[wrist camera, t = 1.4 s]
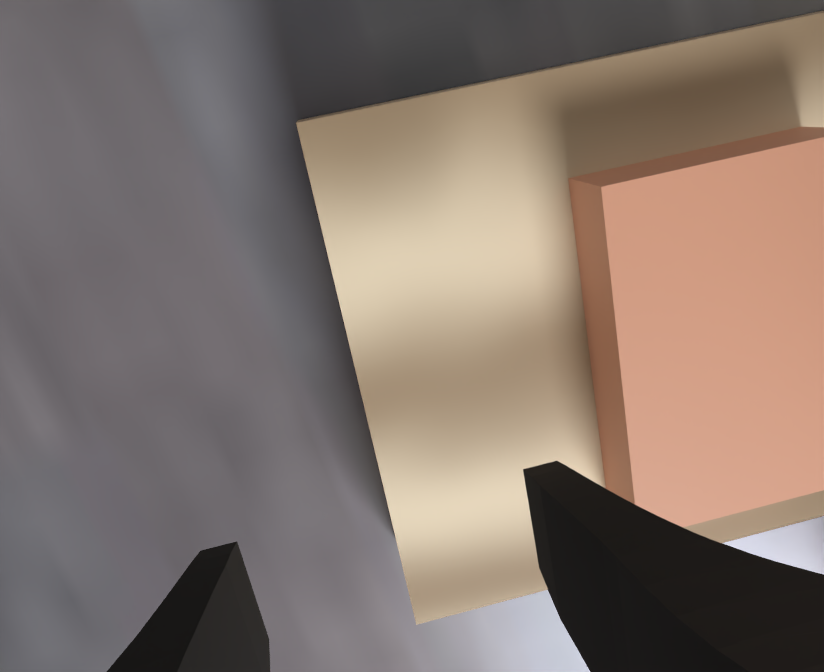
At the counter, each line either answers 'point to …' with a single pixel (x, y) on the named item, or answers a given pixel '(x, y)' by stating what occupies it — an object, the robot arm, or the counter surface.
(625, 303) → the tile
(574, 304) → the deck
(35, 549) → the counter surface
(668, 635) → the robot arm
